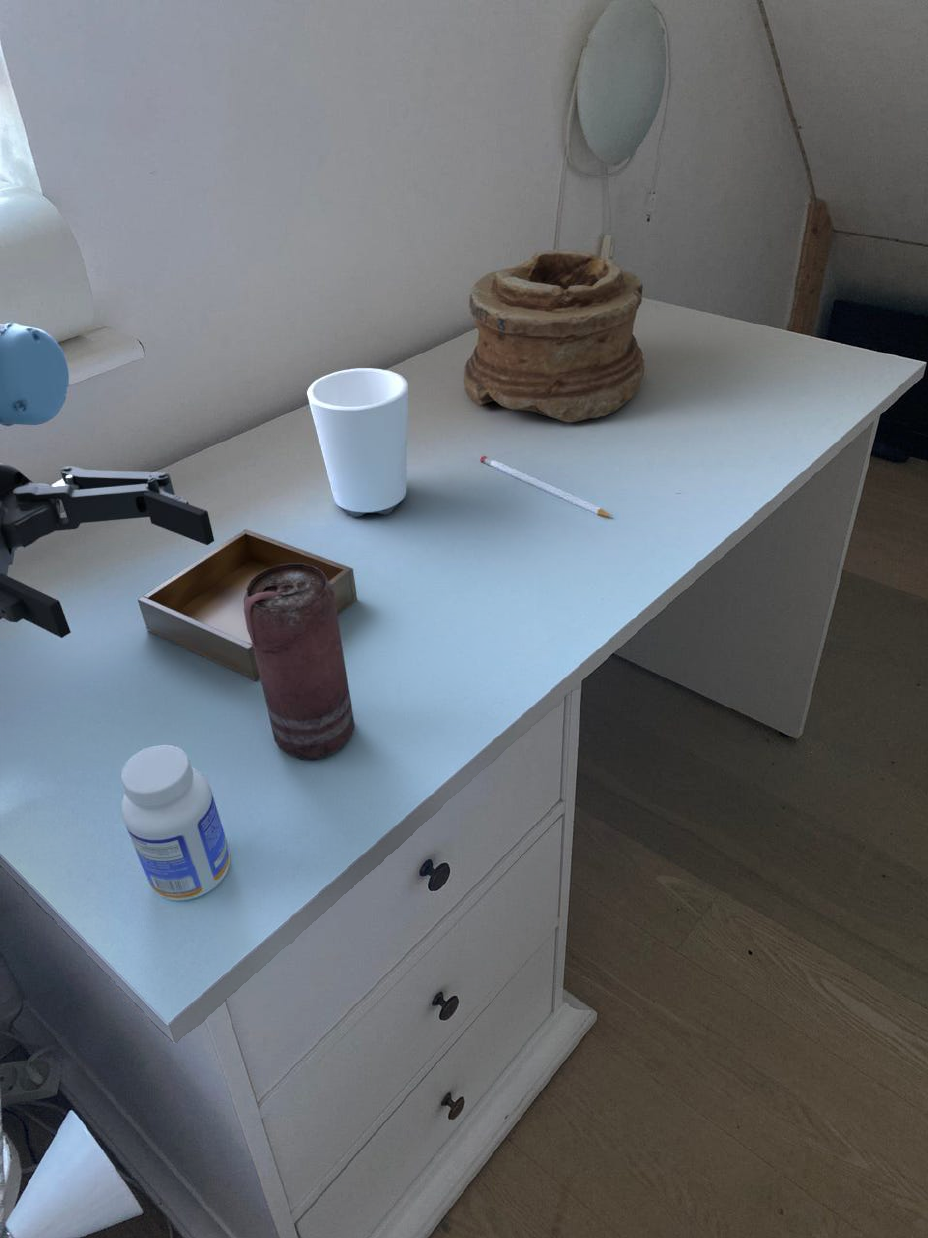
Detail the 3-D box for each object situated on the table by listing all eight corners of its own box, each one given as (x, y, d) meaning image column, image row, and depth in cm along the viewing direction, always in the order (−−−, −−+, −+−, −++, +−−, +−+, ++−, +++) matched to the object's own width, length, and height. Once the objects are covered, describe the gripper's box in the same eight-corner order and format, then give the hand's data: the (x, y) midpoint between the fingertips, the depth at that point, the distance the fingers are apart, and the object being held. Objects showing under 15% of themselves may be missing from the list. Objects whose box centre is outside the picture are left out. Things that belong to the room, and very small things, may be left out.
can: (256, 739, 72) (219, 589, 63) (320, 696, 75) (294, 549, 67) (306, 778, 68) (274, 625, 60) (371, 731, 72) (350, 581, 63)
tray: (255, 681, 77) (248, 649, 75) (146, 630, 83) (137, 599, 81) (357, 599, 86) (353, 568, 84) (252, 558, 92) (245, 528, 90)
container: (426, 397, 120) (418, 277, 110) (539, 339, 133) (539, 228, 124) (572, 446, 107) (576, 315, 98) (679, 376, 121) (691, 256, 112)
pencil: (485, 460, 106) (485, 454, 105) (615, 519, 95) (616, 513, 94) (480, 462, 105) (479, 457, 105) (610, 522, 94) (610, 516, 94)
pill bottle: (203, 824, 65) (171, 721, 59) (248, 868, 62) (218, 764, 56) (133, 870, 62) (91, 768, 56) (175, 919, 59) (136, 816, 53)
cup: (325, 482, 103) (308, 371, 96) (415, 474, 104) (405, 363, 96) (322, 530, 95) (304, 413, 88) (419, 521, 96) (410, 404, 88)
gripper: (102, 474, 89) (266, 535, 79) (-160, 611, 73) (6, 708, 63) (79, 400, 84) (250, 454, 74) (-205, 527, 68) (-35, 618, 58)
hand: (139, 571), depth 69 cm, fingers open, 13 cm apart
